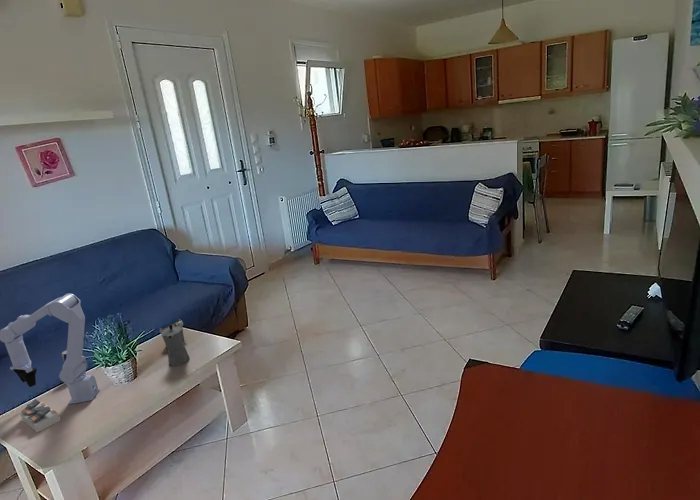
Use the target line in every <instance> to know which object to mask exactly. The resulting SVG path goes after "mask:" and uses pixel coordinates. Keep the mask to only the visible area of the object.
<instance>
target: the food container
mask: <svg viewBox="0 0 700 500" xmlns="http://www.w3.org/2000/svg"><path fill="white" fill-rule="evenodd" d="M172 324H176V326H177V327H181V328H182V329H183V326H184V322H183V320H181V319H180V318H178V320H177V321H175V322H174V323H171V324H169V325H172ZM169 325H167V326H166V327H164V328H159V334H161V333H162V332H163V331H164V330H166V329H169ZM183 330H184V329H183ZM183 339H184V340H185V336H184V334H183Z"/></svg>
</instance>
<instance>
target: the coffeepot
mask: <svg viewBox="0 0 700 500" xmlns="http://www.w3.org/2000/svg"><path fill="white" fill-rule="evenodd" d="M171 324H172V325H170V324H169V325H168V326H169V329H166V330H164V331H163V332H162V333H160V334H161V337H162V339H163V341H164V344H165V346H166V348H167V357H168V358H167V359H168V364H169V366H174V367H176V366H180V365H183V364H185V363H187V362H188V361H189V360H190V358H191V357H190V355H189V353H188V351H187V349H186V347H185V345H184V342H185V338H184V339H183V335H184V329H182V328H183V327H182V328H181V327H177V326H176V324H173V323H171Z"/></svg>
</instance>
